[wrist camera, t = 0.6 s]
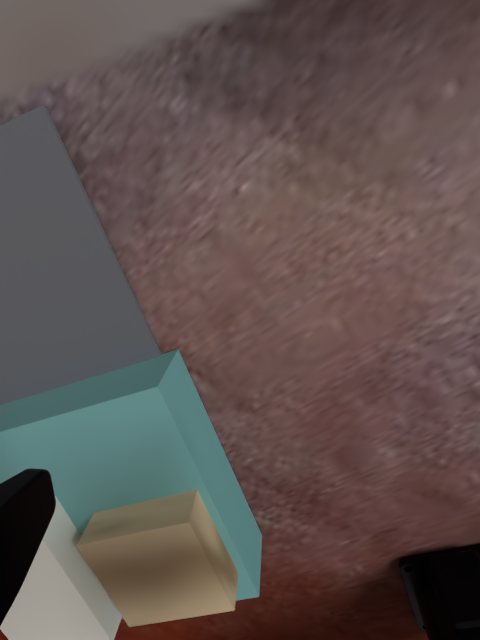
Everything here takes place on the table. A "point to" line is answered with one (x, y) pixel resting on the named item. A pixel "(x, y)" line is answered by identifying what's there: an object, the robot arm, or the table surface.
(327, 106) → the table surface
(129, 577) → the oak tile
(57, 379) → the mat
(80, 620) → the white box
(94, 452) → the plate
